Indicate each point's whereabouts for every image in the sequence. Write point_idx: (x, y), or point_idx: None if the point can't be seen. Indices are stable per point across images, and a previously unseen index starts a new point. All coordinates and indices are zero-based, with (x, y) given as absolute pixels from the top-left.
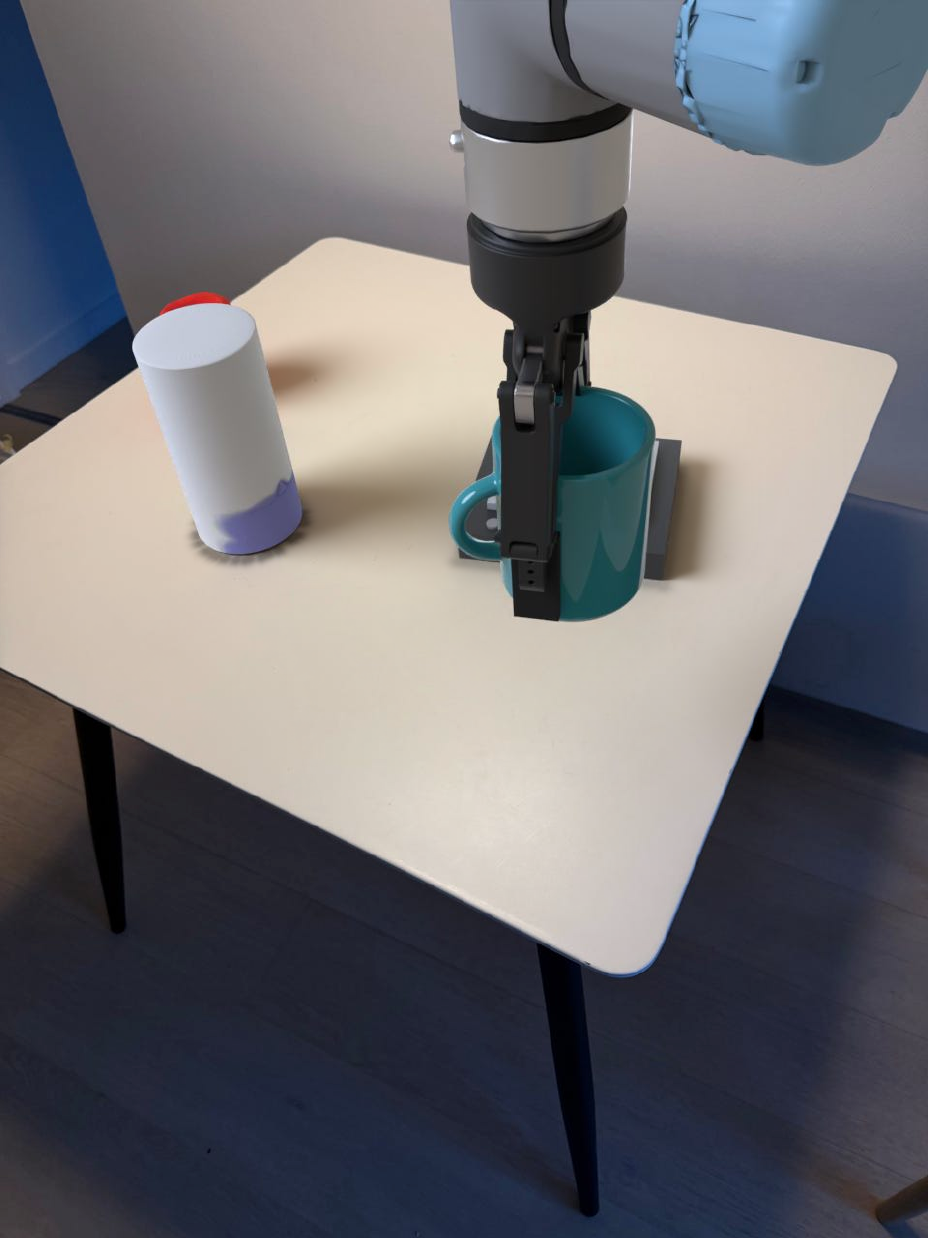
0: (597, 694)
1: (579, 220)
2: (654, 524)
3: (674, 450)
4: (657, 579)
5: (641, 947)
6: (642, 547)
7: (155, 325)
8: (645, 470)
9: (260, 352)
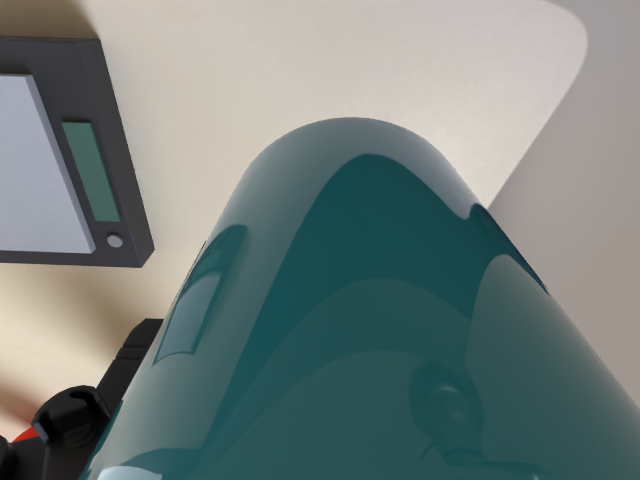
0: (288, 100)
1: None
2: (25, 62)
3: None
4: (101, 46)
5: (579, 23)
6: (417, 162)
7: None
8: (568, 386)
9: None
